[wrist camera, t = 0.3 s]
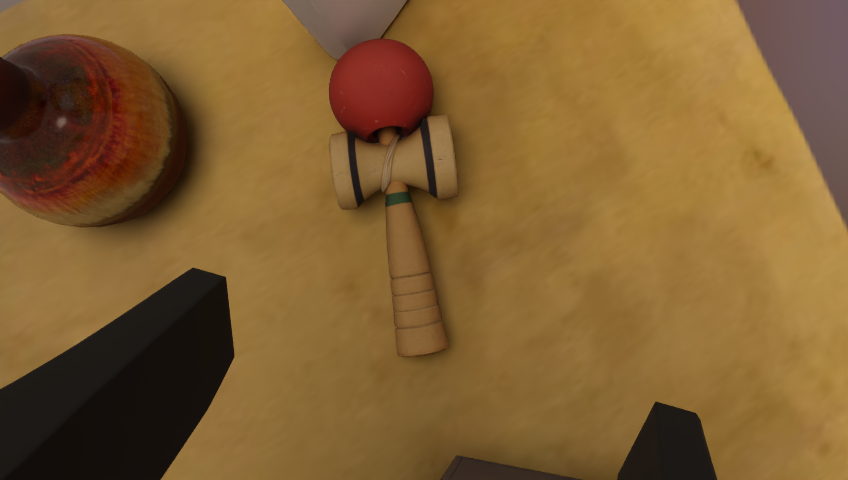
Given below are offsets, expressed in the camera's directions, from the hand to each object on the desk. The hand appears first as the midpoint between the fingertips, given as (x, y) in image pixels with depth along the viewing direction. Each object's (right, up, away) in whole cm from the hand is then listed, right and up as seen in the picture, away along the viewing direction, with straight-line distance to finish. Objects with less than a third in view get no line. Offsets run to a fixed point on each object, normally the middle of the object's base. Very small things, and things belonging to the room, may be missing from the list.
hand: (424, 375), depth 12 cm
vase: (-19, +8, +35) cm, 41 cm away
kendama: (-1, +4, +32) cm, 32 cm away
